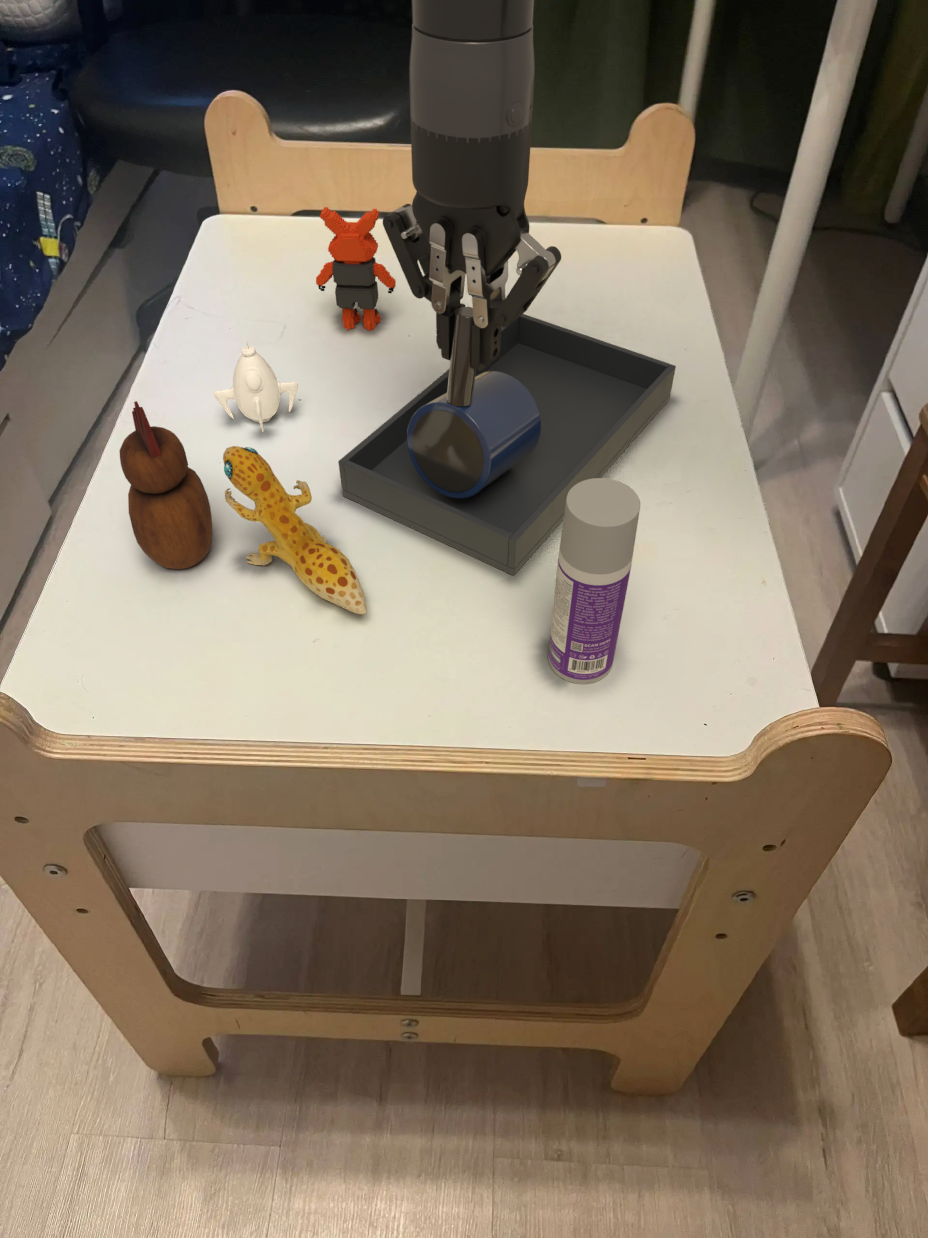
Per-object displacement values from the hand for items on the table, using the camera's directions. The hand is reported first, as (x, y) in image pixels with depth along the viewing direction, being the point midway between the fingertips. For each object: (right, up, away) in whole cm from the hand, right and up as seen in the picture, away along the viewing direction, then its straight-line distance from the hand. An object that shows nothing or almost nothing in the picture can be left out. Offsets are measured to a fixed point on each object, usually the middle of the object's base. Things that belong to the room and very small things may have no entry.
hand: (467, 359), depth 69 cm
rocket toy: (-19, -1, +17) cm, 26 cm away
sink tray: (+4, -4, +14) cm, 15 cm away
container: (+8, -23, -2) cm, 24 cm away
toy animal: (-11, +12, +29) cm, 33 cm away
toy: (-11, -16, +3) cm, 20 cm away
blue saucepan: (+3, 0, +7) cm, 7 cm away
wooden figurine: (-23, -14, +5) cm, 27 cm away
